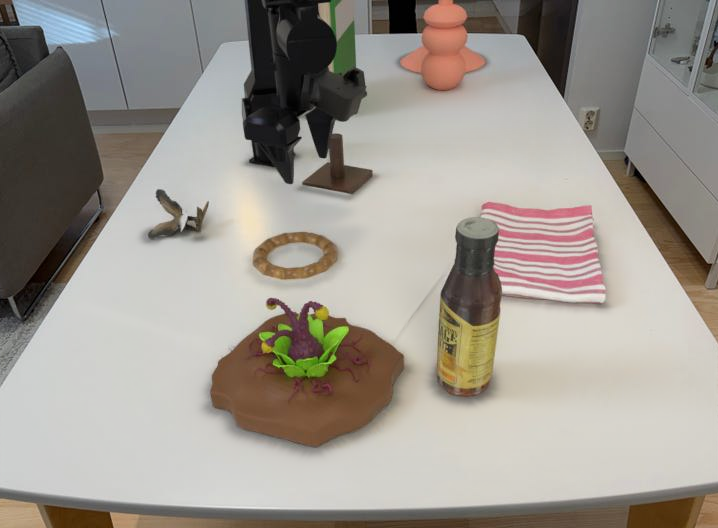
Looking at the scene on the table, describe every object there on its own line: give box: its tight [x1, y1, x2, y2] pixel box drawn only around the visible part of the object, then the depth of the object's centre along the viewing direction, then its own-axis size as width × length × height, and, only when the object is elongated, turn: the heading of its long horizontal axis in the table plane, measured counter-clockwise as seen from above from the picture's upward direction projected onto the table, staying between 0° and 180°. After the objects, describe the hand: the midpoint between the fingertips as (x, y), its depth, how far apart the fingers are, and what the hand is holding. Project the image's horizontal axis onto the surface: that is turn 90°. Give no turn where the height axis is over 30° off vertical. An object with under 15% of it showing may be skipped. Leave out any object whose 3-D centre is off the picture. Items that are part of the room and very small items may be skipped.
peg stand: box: [301, 133, 374, 195], centre depth 117 cm, size 9×9×8 cm
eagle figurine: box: [147, 188, 210, 239], centre depth 105 cm, size 8×7×9 cm
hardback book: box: [318, 0, 357, 76], centre depth 143 cm, size 18×7×24 cm, turn 170°
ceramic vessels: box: [400, 0, 486, 91], centre depth 161 cm, size 35×21×19 cm, turn 175°
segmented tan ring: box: [252, 231, 338, 281], centre depth 98 cm, size 12×12×2 cm
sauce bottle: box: [436, 216, 503, 397], centre depth 71 cm, size 6×6×20 cm
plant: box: [209, 297, 405, 448], centre depth 75 cm, size 20×20×11 cm
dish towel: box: [479, 201, 607, 305], centre depth 97 cm, size 17×23×4 cm
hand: (306, 170), depth 95 cm, fingers open, 9 cm apart
